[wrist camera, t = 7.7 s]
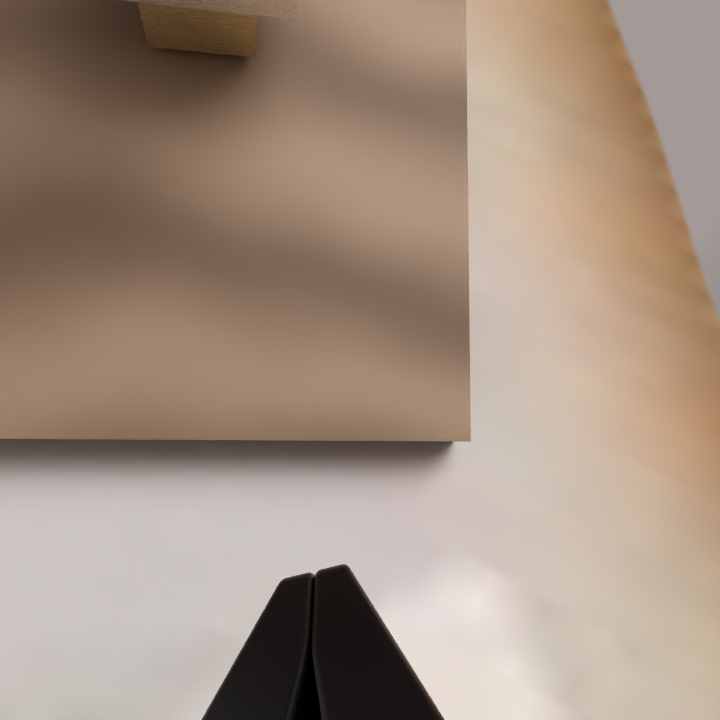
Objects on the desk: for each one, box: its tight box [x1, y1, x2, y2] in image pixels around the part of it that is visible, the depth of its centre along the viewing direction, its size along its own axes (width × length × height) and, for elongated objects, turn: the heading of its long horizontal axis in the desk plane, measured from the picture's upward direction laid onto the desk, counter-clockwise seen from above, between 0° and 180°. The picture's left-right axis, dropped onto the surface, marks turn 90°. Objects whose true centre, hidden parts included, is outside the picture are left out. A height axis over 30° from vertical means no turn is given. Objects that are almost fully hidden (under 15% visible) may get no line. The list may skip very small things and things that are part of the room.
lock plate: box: [0, 0, 471, 441], centre depth 18 cm, size 22×16×5 cm
